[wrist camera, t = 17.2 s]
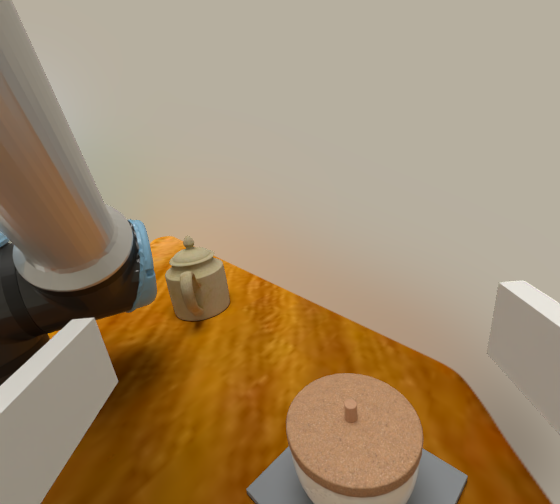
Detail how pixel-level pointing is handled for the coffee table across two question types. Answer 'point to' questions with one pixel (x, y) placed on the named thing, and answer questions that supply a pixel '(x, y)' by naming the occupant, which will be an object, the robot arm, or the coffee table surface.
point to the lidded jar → (354, 441)
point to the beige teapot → (197, 283)
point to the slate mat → (294, 500)
